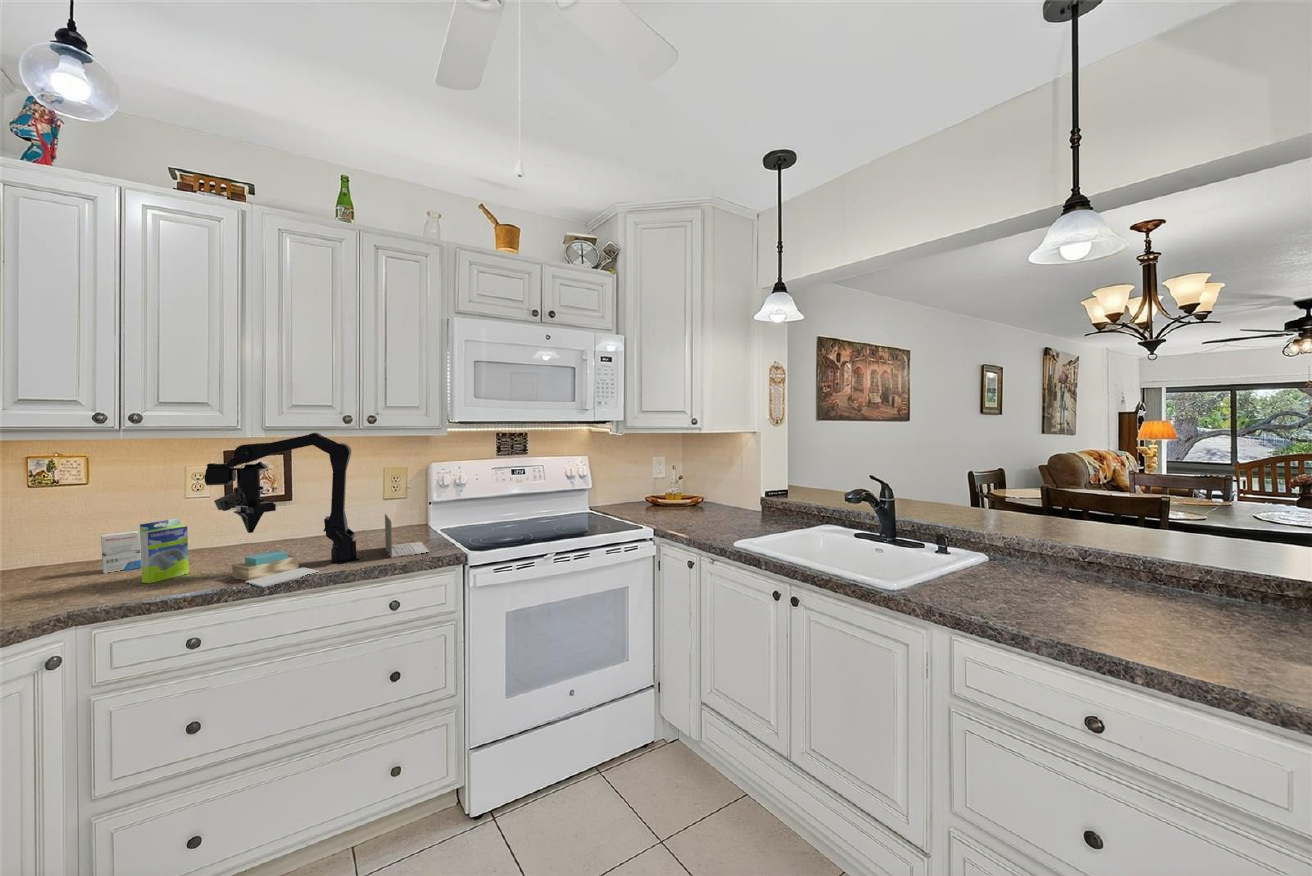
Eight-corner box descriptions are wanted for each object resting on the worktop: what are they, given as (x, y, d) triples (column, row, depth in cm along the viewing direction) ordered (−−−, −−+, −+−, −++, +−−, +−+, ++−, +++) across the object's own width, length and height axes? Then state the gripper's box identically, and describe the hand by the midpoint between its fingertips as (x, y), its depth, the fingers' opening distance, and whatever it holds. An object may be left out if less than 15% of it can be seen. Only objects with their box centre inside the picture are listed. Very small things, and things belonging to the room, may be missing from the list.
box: (149, 584, 152) (146, 525, 152) (140, 582, 154) (137, 524, 153) (190, 573, 162) (188, 518, 162) (181, 572, 164) (179, 517, 163)
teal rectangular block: (277, 556, 167) (277, 550, 167) (288, 558, 165) (288, 552, 165) (245, 563, 159) (244, 557, 159) (256, 565, 157) (255, 559, 157)
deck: (282, 565, 171) (282, 553, 170) (298, 569, 167) (298, 557, 166) (232, 577, 158) (232, 564, 158) (248, 581, 154) (248, 568, 154)
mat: (302, 568, 167) (302, 567, 167) (319, 572, 163) (319, 570, 163) (245, 583, 153) (245, 581, 153) (262, 587, 149) (262, 585, 149)
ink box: (141, 565, 172) (139, 530, 171) (141, 568, 168) (139, 532, 168) (103, 570, 166) (101, 534, 165) (102, 574, 162) (100, 536, 162)
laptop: (430, 553, 186) (429, 517, 186) (390, 559, 180) (390, 521, 179) (421, 543, 202) (420, 510, 201) (385, 548, 195) (384, 513, 194)
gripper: (202, 485, 162) (204, 535, 163) (234, 488, 154) (236, 541, 154) (243, 481, 172) (245, 528, 173) (276, 484, 164) (277, 533, 164)
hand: (250, 532), depth 166 cm, fingers closed
